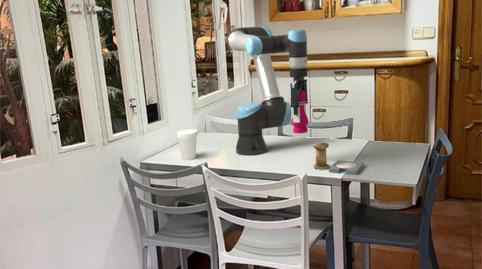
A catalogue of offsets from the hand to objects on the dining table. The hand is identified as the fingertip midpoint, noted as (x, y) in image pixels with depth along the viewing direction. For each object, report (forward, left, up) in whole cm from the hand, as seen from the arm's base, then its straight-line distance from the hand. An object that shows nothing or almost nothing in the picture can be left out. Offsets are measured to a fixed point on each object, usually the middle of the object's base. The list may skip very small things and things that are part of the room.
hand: (299, 120), depth 201 cm
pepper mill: (0, 0, -5) cm, 5 cm away
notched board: (+22, -5, -19) cm, 29 cm away
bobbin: (+11, -6, -19) cm, 23 cm away
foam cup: (-54, -9, -19) cm, 58 cm away
